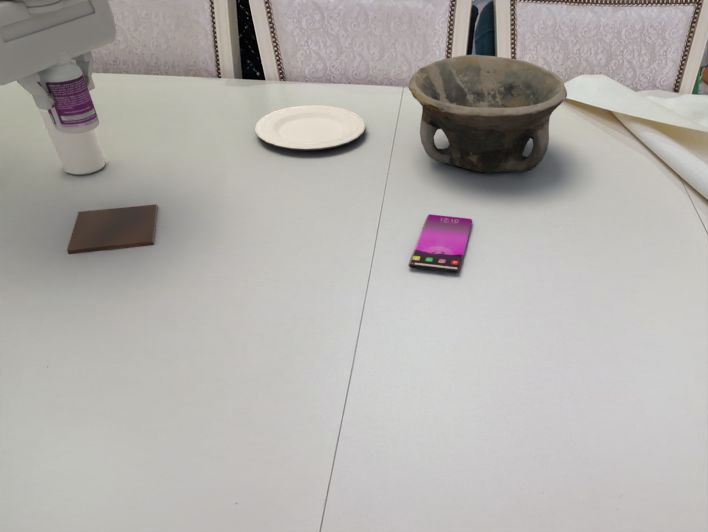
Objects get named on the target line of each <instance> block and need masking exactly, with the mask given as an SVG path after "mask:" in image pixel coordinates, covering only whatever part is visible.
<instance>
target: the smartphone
mask: <svg viewBox="0 0 708 532" xmlns="http://www.w3.org/2000/svg"><path fill="white" fill-rule="evenodd" d="M472 225H473V219H472V218H468V217H457V216H450V215H449V216H448V215H440V214H439V215H438V214H431V213H430V214H428V215H427V216H426V218H425V221H424V224H423V226H422V229H421V231H420V233H419V236H418V239H417V241H416V244H415V246H414V249H413V251H412V254H411V256H410V259H409V262H408V264H407V266H408V267H409V268H412V269H422V270H430V271H438V272H446V273H454V274H456V273H459V272H460V269H461V265H462V262H463V258H464V254H465V250H466V248H467V243H468V240H469V236H470V232H471V230H472V229H471V228H472Z"/></svg>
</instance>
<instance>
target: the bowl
mask: <svg viewBox="0 0 708 532" xmlns="http://www.w3.org/2000/svg"><path fill="white" fill-rule="evenodd" d="M408 90H409V91H410V93H411V95H412V97H413V98H414V99H415V100H416V101H417V102H418V103H419V104H420V106H421V109H422V111H421V119H420V125H419V135H420V143H421V145H422V147H423V149H424V151H425V153H426V154H427V155H428V156H429V158H430V159H432V160H433V161H436V162H438V163H446V164H448V165H451V166H456V167H459V168H462V169H466V170H470V171H474V172H479V173H483V174H485V173H488V174H489V173H501V172H515V173H525V172H530V171H533V170H534V169H536V168H537V167H538V166H539V164H541V162H542V161H543V159H544V157H545V156H546V153H547V151H548V148H549V143H550V117H551V115H552V113H553V112H554V111H555V110H556V109H558V107H559V106H561V104H563V102H564V101H565V100H566V99H567V97H568V91H567V88H566V85H565V82H564V80H563V79H562V78H561V76H560V75H558V74H556V73H555V72H554V71H551V70H548V69H546V68H545V67H543V66H540V65H537V64H535V63H532V62H530V61H527V60H521V59H516V58H511V57H510V58H509V57H502V56H496V55H480V54H466V55H464V54H463V55H458V56H457V55H456V56H453V57H449V58H443V59H440V60H436V61H434V62H432V63H430V64H427V65H424V66H422V67H420V68H418V69H417V70H416V71H415V72H414V73H413V74H412V76H411V78H410V79H409V82H408ZM439 130H441V131H442V132H443V134H444V135H445V137H446V139H447V141H448V143H449V144H448V146H447V147H445V148H440V147H437V145H436V142H435V135H436V133H437V131H439ZM530 140H532V147H531V151H530V153H529V154H528V155H524V154H525V151H526V149H527V146H528V143H529V141H530Z"/></svg>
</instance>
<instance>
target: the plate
mask: <svg viewBox="0 0 708 532" xmlns="http://www.w3.org/2000/svg"><path fill="white" fill-rule="evenodd" d="M365 130H366V122H365V120H364V119H363V118H362V117H361V116H360V115H358V114H357V113H356V112H353V111H351V110H348V109H345V108H342V107H336V106H330V105H319V104H318V105H317V104H316V105H314V104H311V105H310V104H309V105H298V106H291V107H285V108H281V109H278V110H275V111H272V112H269V113H268V114H266V115H264V116H263V117H261V118H259V120H258V121H257V122H256V124H255V125H254V133H255V134H256V137H258V138H259V139H260V140H261V141H263V142H265V143H266V144H268V145H272V146H274V147H277V148H280V149H288V150H293V151H294V150H296V151H322V150H329V149H334V148H337V147H341V146H344V145H348V144H351V143H353V142H354V141H356V140H357V139H359V138H360V137H361V136H362V135H363V134H364V133H365Z"/></svg>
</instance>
